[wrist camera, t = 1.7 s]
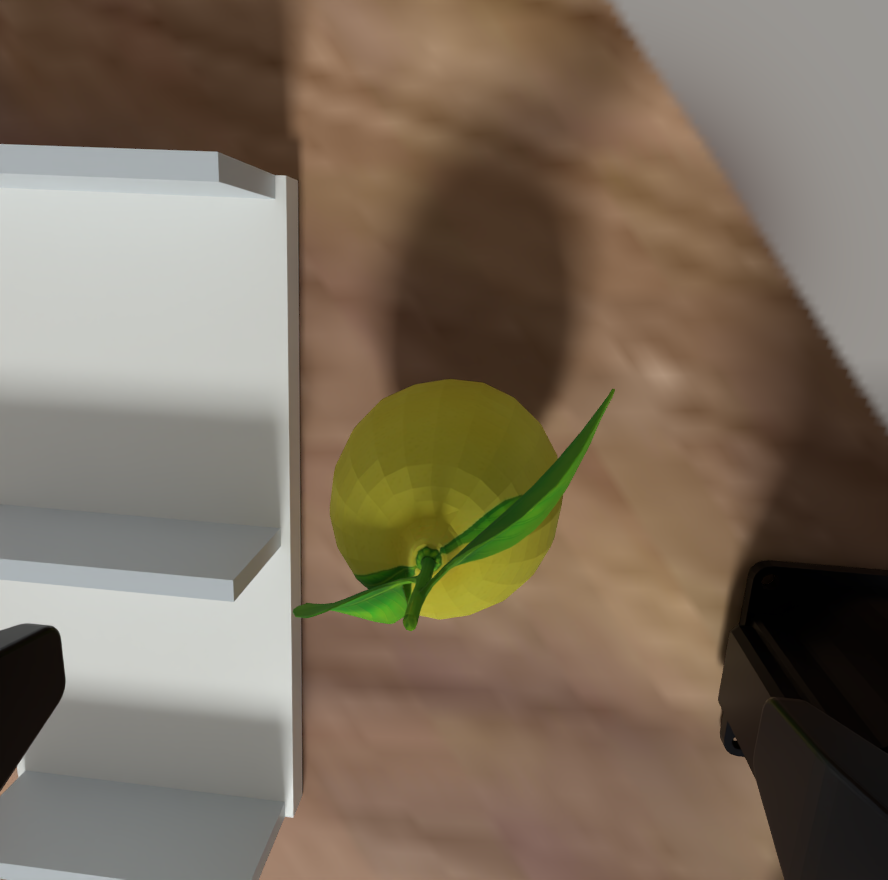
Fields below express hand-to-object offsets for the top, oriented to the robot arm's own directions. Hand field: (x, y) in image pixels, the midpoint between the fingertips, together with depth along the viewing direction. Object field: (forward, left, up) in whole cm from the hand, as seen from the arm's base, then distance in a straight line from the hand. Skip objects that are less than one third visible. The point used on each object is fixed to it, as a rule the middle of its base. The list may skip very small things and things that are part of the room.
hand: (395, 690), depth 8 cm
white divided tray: (+10, +3, -12) cm, 16 cm away
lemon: (0, 0, -12) cm, 12 cm away
